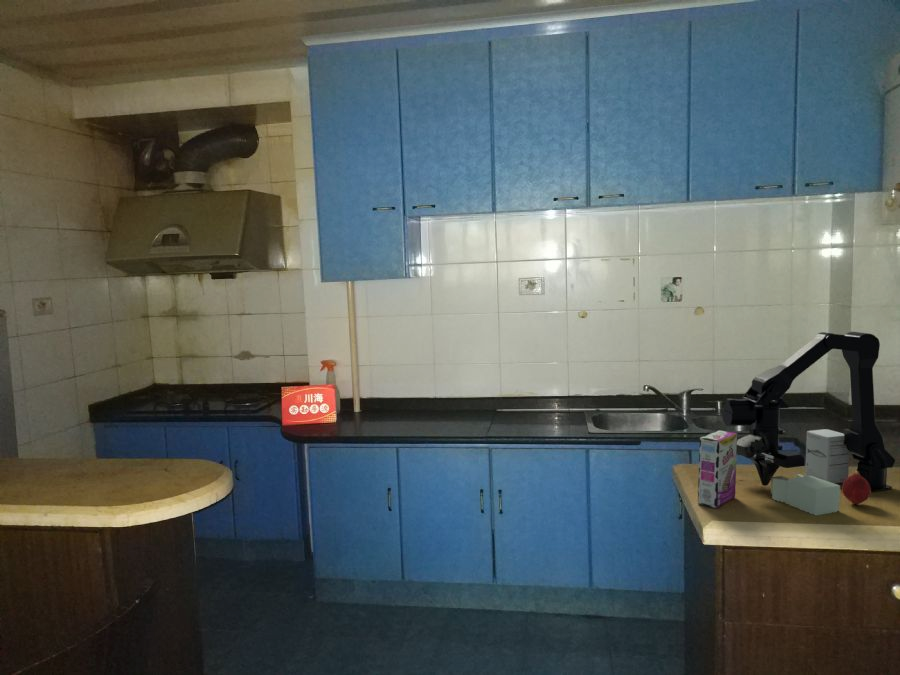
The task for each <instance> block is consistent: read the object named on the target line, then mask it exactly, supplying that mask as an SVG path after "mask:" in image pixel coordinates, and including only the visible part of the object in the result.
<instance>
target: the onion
mask: <svg viewBox="0 0 900 675" xmlns="http://www.w3.org/2000/svg"><path fill="white" fill-rule="evenodd" d="M841 492H842V494H843V496H844V497H845V498H846V499H847V501H848V502H850V503H851V504H853V505H855V504H856V505H859V504H861V503H864V502H866V501H867V500H868V499H869V498H870V497H871V494H872V491H871V488H870V485H869V483H868V482H867V480H866V479H865V478H863V477H862V476H860V474H859V472H858V471H857V470H855V471H854V473H853V474H852V475H850V476H848V478H846V479H845V481H844V482H842V486H841Z"/></svg>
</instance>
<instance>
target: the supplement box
mask: <svg viewBox="0 0 900 675" xmlns="http://www.w3.org/2000/svg"><path fill="white" fill-rule="evenodd" d="M844 439H845V437H844V432H843V433H842V432H839V431H835V430H831V429H828V428H826V429H824V428H823V429H822V428H821V429H813V430H807V431H806V444H805V464H804V467H805V469H804V477H805V476H813V477H816V478H819V479H822V480H825V481H828V482H831V483H834V484H840V483H843V482H844V481H845V479H846V478H848V477H849V470H850V469H849V468H850V467H849V464H850V451H849V450H848V449H847V446H846V445H845V444H844Z"/></svg>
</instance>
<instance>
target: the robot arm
mask: <svg viewBox="0 0 900 675" xmlns="http://www.w3.org/2000/svg"><path fill="white" fill-rule="evenodd" d="M880 345H881V344H880V340H879V338H878V337H877V336H875V334H873V333H867V332H861V331H860V332H859V331H850V332H847V333H845V334H837V333H832V332H823V331H822V332H818V333H817V334H815V336H814V338H812V339H811V340H810V341H808V342H807V343H806V344H805V345H804V346H802V347H801V348H800V349H798V350H797V351H796V352H795V353H793V354H792V355H791V356H790V357H788V358H786V360H784V361H783V362H782V363H781V364H780V365H777V366H775V367H772V368H769V369H767V370H765V371H764V372H761V373H760V374H758V375H756V376H754V378H753V379H752V381H751V386H750V387H749V388H748V389H747V390H746V392H745V393H744V394H743V396H742V397H741V399H740V398H726V400H725V402H726V403H724V405H723V409H722V410H721V418H722V420H723V421H722V422H723V423H724V425H725V426H726V427H727V426H728V427H733V426H734V427H735V426H737V427H738V426H739V427H740V426H742V427H744V426H745V427H746V426H747V427H748V426H752V425H754V426H753V427H750V428H749V430H748V432H749V433H748V435H745V436H743V437H741V438H737V456H742V457H744V458H746V459H748V460H749V461H751V462H752V463H753V464H754V466H755V468H756V471H757V474H758V477H759V480H760V482H761V485H762V486H764V487H766V486H769V483H771V477H774V476H775V474H776V473H777V471H778V470H779V468H780V467H781V468H785V469H791V468H799V467H805V462H806V458H805V456H804V455H803V454H802V453H798V452H795V451H792V450H787V451H786V450H785V451H783V445H780V435H784V434H783V433H784V430H783V429H780V413H781V412H780V411H781V409H789V407H790V405H789V404H787V403H786V402H785V401H784V399H783V398H782V397H783V396H785V394H786V393H787V392H788V390H789V389H790V388H791V386H792V385H793V382H794V381H795V379H796V378H798V377H799V375H801V374H803V373H805V371H806V370H807V369H809V368H810V367H811V366H813V365H814V364H815V363H816V362H818V361H819V360H821V359H822V357H825V355H826V354H828V353H829V352H830V351H831V350H840V351H841V353H842V357H843V359H844V360H845V362H846V364H847V365H848V368H849V377H850V378H849V379H850V380H849V381H850V398H851V412H852V413H851V414H852V416H851V417H852V423H851V425H850V427H849V428H844V429H843V430H842V432H843V434H844V437H845V439H844V444H845V445H846V446H847V449H848V450H849V453H851V456H852V459H853V460H856V461H858V462H857V469H856V471H858V472H859V474H860V476H862V477H863V478H865V479H866V480H867V482H868V483H869V485H870V488H871V492H879V491H886V490H892V489H893V486H892V485H888V484H887V480H888V479H887V477H888V468H890V469H891V468H893V467H894V465H895V462H896V459H895V458H894V457H893V456H892V455H891V453H889V452H888V451H887V450H886V447H885V442H884V436H883V434H882V433H881V431H880V429H879V427H878V426H877V424H876V413H875V412H876V410H875V408H876V407H875V390H874V372H873V368H874V366H875V365H876V362H877V360H878V358H879V356H880V355H879V354H880V347H881V346H880ZM780 451H781V452H780Z"/></svg>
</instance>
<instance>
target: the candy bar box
mask: <svg viewBox="0 0 900 675" xmlns="http://www.w3.org/2000/svg"><path fill="white" fill-rule="evenodd" d="M737 439H738V433H737V432H732V431H727V430H726V431H725V430H715V431H713V432H711V433H709V434H707V435H703V436H701V437H699V450H698V451H699V452H698V484H697V486H698V487H697V504H698V505H701V506H704V507H709V508H710V509H711V508H712V509H718V508H720V507H721V506H723V505H724V504H726V503H727V502H729V501H731V500H733V499H735V498H736V485H737V484H736V483H737V477H736V476H737V475H736V474H737V458H738V457H737V456H738V455H737Z"/></svg>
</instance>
